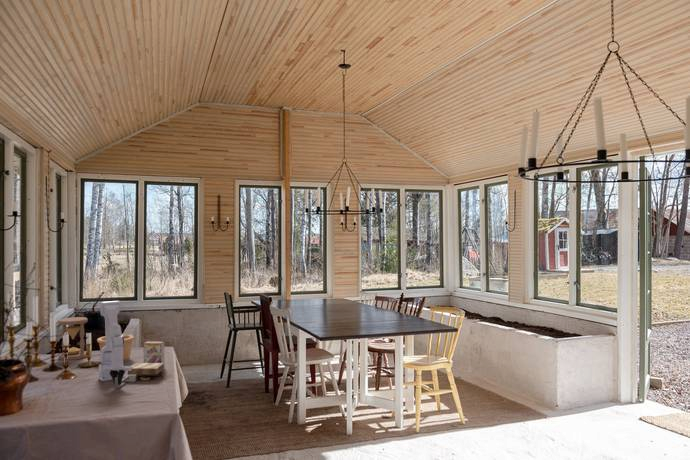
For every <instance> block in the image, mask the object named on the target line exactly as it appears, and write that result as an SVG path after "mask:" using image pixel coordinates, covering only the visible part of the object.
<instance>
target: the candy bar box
mask: <svg viewBox="0 0 690 460" xmlns="http://www.w3.org/2000/svg"><path fill="white" fill-rule="evenodd" d="M165 361H166V360H165V341H152V340H151V341H149V340H148V341H145V342H143V363H165ZM165 364H166V363H165ZM165 364H164V369H165V367H166V366H165Z"/></svg>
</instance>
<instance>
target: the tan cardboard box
mask: <svg viewBox="0 0 690 460" xmlns="http://www.w3.org/2000/svg"><path fill="white" fill-rule="evenodd" d="M164 364H166V363H144V362H136V363H133V364H132V365H130V366H129V367H132V370H131V371H127V375H131V376H136V377H144V376H149V377H163V376H164V369H165V368H164Z"/></svg>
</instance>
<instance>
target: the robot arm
mask: <svg viewBox="0 0 690 460" xmlns="http://www.w3.org/2000/svg"><path fill="white" fill-rule="evenodd" d="M99 305H100V306H99V308H100V310H99V311H100V316H101V317H104V323H105V325H104V329H105V330H104V333H105V336H106V345H105V346H104V347H103V348H102V349H101V352H100V353H99V356H100V357H99V358H100V363H101V364H99V365H98V380H100V381H101V382H107V381H112V382H113V385H114V386H115V377H116V376H118V385H120V386H121V384H122V383H121V382H122V378H123V376H125V374H126V372H128V371H131V370H132V367H130V366H129V365H128V366H127V365H124V362H123V346H124V336H123V335H124V334H123V333H122V328H121V325H120V324H119V323H118V314H119V313H120V312H121V301H120V300H118V299H117V300H111V301H109V300H108V301H101V302H100V304H99ZM110 350H111V351H110ZM105 351H106V352H105Z"/></svg>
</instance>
